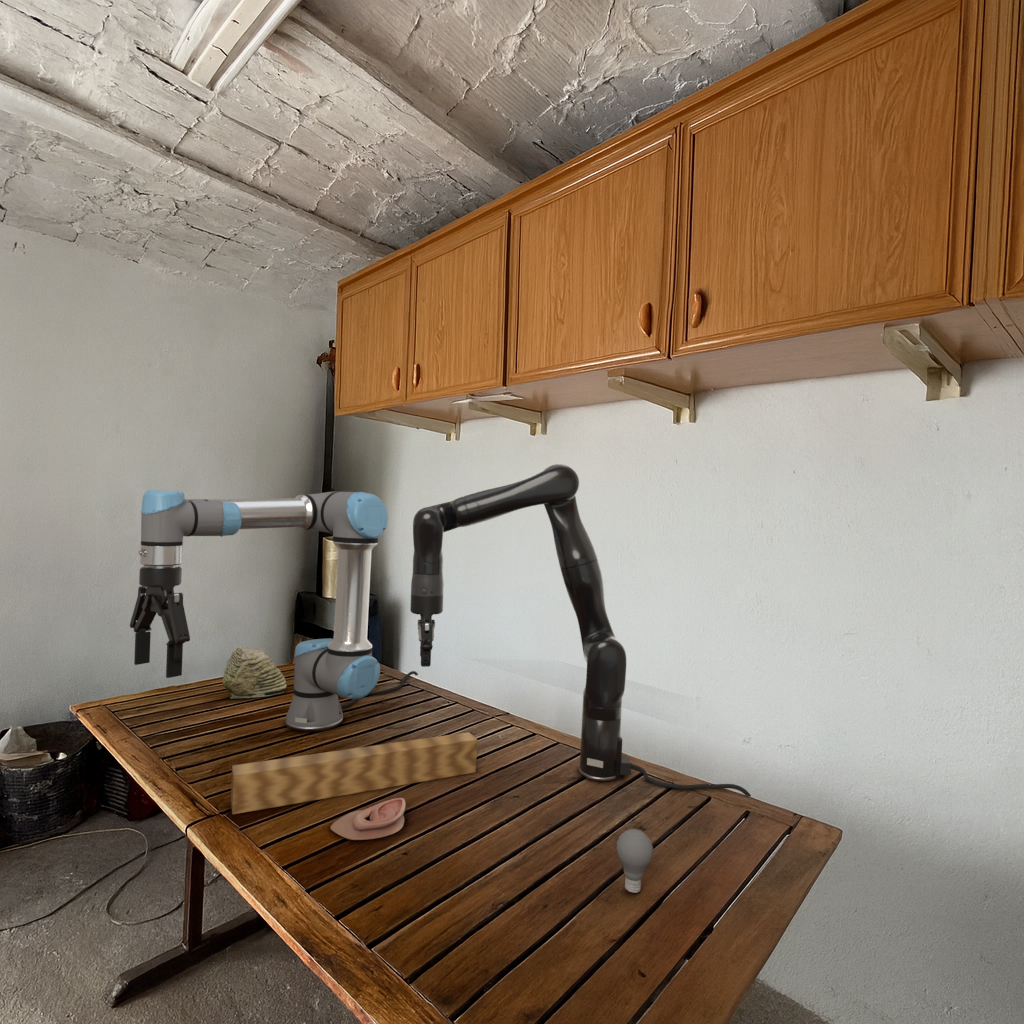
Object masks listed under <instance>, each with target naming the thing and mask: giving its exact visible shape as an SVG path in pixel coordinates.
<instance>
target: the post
mask: <svg viewBox="0 0 1024 1024" xmlns="http://www.w3.org/2000/svg"><path fill="white" fill-rule="evenodd" d="M477 751H478V738H476V737H475V736H474V735H473V734H471V732H469V731H468V732H461V733H460V732H459V733H453V734H446V735H440V736H433V737H432V736H431V737H423V738H419V739H410V740H404V741H396V742H390V743H383V744H375V745H368V746H361V747H354V748H353V747H352V748H346V749H339V750H332V751H327V752H326V751H325V752H320V753H311V754H304V755H296V756H291V757H283V758H276V759H268V760H262V761H255V762H247V763H241V764H233V765H231V780H230V781H231V784H230V785H231V786H230V809H231V815H236V814H238V815H239V814H242V813H243V814H244V813H248V812H249V813H250V812H255V811H261V810H268V809H271V808H278V807H284V806H290V805H296V804H300V803H306V802H312V801H318V800H324V799H330V798H335V797H340V796H348V795H354V794H358V793H364V792H370V791H371V792H372V791H377V790H382V789H387V788H392V787H400V786H405V785H411V784H416V783H417V784H418V783H422V782H427V781H433V780H440V779H445V778H451V777H457V776H463V775H468V774H474V773H476V772H477V757H478V756H477V755H478V752H477Z"/></svg>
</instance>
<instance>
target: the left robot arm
mask: <svg viewBox="0 0 1024 1024" xmlns="http://www.w3.org/2000/svg"><path fill="white" fill-rule="evenodd" d="M140 514H141V519H140V521H141V522H140V550H138V555H139V556H140V558H139V564H140V565H141V567H140V568H139V575H138V576H139V578H138V584H139V585H140V586H138V589H137V598H136V600H135V606H134V608H133V612H132V616H131V619H130V623H129V627H130V629H133V632H134V658H133V659H134V665H135V666H139V665H143V664H149V663H150V659H151V637H152V636H151V635H152V633H151V631H152V627H151V626H152V624H153V621H154V619H155V617H156V615H157V616H158V617H161V621H162V623H163V627H164V631H165V632H166V635H167V638H168V641H167V642H166V661H165V662H166V667H165V678H166V679H170V678H175V677H181V676H183V654H184V653H183V652H184V644H185V643H186V642H190V641H191V636H190V631H189V626H188V621H187V615H186V612H185V606H184V593H183V592H175V589H174V588H175V587H178V586H179V585H181V584H182V575H183V573H182V571H183V568H182V567H181V566H180V565H182V564H183V551H184V550H183V549H184V537H225V536H234V535H236V534H237V533H238V532H239V531H240V530H257V529H278V528H279V529H281V528H296V529H297V530H299V531H316V532H322V533H328V534H332V543H333V544H334V545H335V547H336V548H337V566H336V567H337V570H336V589H335V607H334V608H335V609H334V624H333V625H334V627H333V638H317V639H308V640H304V641H300V642H299V643H298V644H297V645H296V646H295V650H294V655H293V657H294V672H293V673H294V674H293V695H292V696H293V697H292V699H291V702H290V704H289V708H288V711H287V713H286V715H285V726H286V728H287V729H289V730H291V731H294V732H295V731H296V732H301V733H316V732H325V731H329V730H332V729H335V728H337V727H339V726H340V725H342V723H343V722H344V714H343V709H345V708H347V707H348V708H349V707H350V706H352V705H353V704H354V703H355V702H356V701H357V700H360V699H363V698H365V697H368V696H375V695H382V694H386V693H390V692H394V691H397V690H399V689H401V688H402V687H403V686H405V681H406V680H407V679H408V678H409V677H410V676H411V675H415V676H418V675H419V673H418V672H417V671H415V670H412V671H409V672H408V673H407V674H406V675H404V676H403V677H402V678H401V681H400V682H401V683H400V684H398V685H396V686H394V687H390V688H386V689H383V690H376V691H372V690H373V689H375V687H376V686H377V684H378V682H379V679H380V676H381V665H380V663H379V661H378V660H377V659H376V658H375V657H373V644H372V643H371V642H370V640H369V639H368V626H369V607H370V606H369V605H370V588H371V569H372V550H373V549H374V548H375V547H376V546H377V545H378V544H379V537H380V536H381V535H383V534H384V531H385V530H386V529H387V527H388V523H389V513H388V509H387V506H386V504H385V503H384V502H383V501H382V499H381V498H380V497H379V496H377V495H376V494H373V493H371V492H370V493H369V492H364V491H337V490H336V491H326V492H319V493H308V494H298V495H296V496H295V497H294V498H293V497H292V498H291V497H290V498H288V497H287V498H286V497H285V498H284V497H283V498H185V493H184V492H183V491H181V490H158V489H149V490H146V491H145V492H144V493H143V495H142V499H141V510H140ZM339 697H340V698H343V699H350V700H351V701H349V702H347V703H344V704H343V703H342V704H341V702H340V699H339Z"/></svg>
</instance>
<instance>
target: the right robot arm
mask: <svg viewBox="0 0 1024 1024" xmlns="http://www.w3.org/2000/svg"><path fill="white" fill-rule="evenodd" d="M579 488H580V479H579V476H578V474H577V471H576V470H574V469H573V468H572V467H570V465H569V466H568V465H567V464H563V463H555V464H552V465H549V466H547V467H545V468H544V469H543V470H542V471H541V472H539V473H536V474H535V475H532V476H530V477H528V478H525V479H523V480H519V481H517V482H513V483H510V484H506V485H502V486H498V487H493V488H488V489H483V490H481V491H477V492H474V493H470V494H467V495H464V496H460V497H458V498H455V499H453V500H451V501H447V502H443V503H438V504H434V505H430V506H425V507H422V508H420V509H419V510H418V511H417V512H416V513H415V515H414V516H413V521H412V541H413V556H412V574H411V583H410V608H409V609H410V612H411V613H412V614H414V615H419V616H420V619H417V631H418V632H417V633H418V641H419V643H420V646H419V656H420V667H422V668H424V667H427V668H429V667H431V663H432V662H431V661H432V649H433V646H434V645H433V642H434V639H435V630H436V621H435V620H436V619H433V615H440V614H442V613H443V611H444V583H445V581H444V552H443V540H444V533H447V532H449V531H453V530H455V529H458V528H465V527H469V526H472V525H476V524H480V523H483V522H486V521H490V520H493V519H495V518H498V517H502V516H504V515H507V514H510V513H513V512H516V511H519V510H522V509H526V508H530V507H535V506H539V505H543V506H544V508H545V511H546V514H547V516H548V519H549V522H550V525H551V529H552V534H553V535H552V536H553V540H554V541H553V542H554V546H555V547H554V548H555V551H556V557H557V560H558V566H559V569H560V572H561V576H562V580H563V583H564V586H565V590H566V592H567V595H568V598H569V600H570V604H571V606H572V609H573V611H574V614H575V616H576V619H577V623H578V628H579V633H580V639H581V640H580V641H581V647H582V655H583V657H584V658H583V659H584V660H585V663H586V673H585V674H586V675H585V676H586V677H585V685H584V686H585V687H584V689H583V692H582V709H581V710H582V711H581V713H582V714H581V732H580V733H581V734H580V750H579V751H580V752H579V753H580V754H579V767H578V773H579V774H580V776H582V777H583V778H585V779H587V780H590V781H594V782H611V781H615V780H621V779H622V776H631V775H632V769H633V770H637V771H639V772H640V773H641V774H642V775H643V778H644V779H645V780H646V781H648V782H649V783H650V784H652V785H655V786H658V787H661V788H666V789H676V790H701V789H714V790H719V789H720V790H721V789H732V790H737V791H739V792H741V793H742V794H744V796H746V797H752V794H751V793H750V792H749V791H748V790H747V789H745V788H744V787H742V786H741V785H738V784H734V783H698V784H697V783H695V784H679V783H666V782H661V781H658V780H655V779H654V778H652V777H650V776H649V775H648V773H647V771H646V770H645V769H644V768H643V767H641V766H640V765H637V764H633V763H632V761H631V760H630V758H629V757H628V755H626V754H623V738H622V736H621V729H622V728H621V727H622V710H623V709H622V706H623V705H622V704H623V696H624V695H625V689H626V678H627V677H626V675H627V652H626V650H625V648H624V646H623V644H622V643H621V642H620V641H619V640H618V638H617V637H616V635H615V633H614V630H613V628H612V625H611V623H610V619H609V616H608V613H607V608H606V601H605V587H604V579H603V574H602V569H601V566H600V563H599V559H598V555H597V552H596V550H595V547H594V545H593V542H592V540H591V538H590V535H589V533H588V531H587V530H586V528H585V526H584V524H583V521H582V519H581V515H580V512H579V507H578V503H577V497H576V495H577V493H578V491H579ZM709 784H711V785H709Z"/></svg>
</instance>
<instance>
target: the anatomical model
mask: <svg viewBox="0 0 1024 1024" xmlns="http://www.w3.org/2000/svg"><path fill="white" fill-rule="evenodd" d="M406 807H407V804H406V799H405V798H403V797H396V798H391V799H388V800H385V801H382V802H378V803H376V804H374V805H372V806H370V807H367V808H364V809H360V810H355V811H351V812H348V813H347V814H344V815H343V816H341V817H340V818H338V819H336V820H335V821H334V822H333V823H332V824H331V825H330V830H331V832H333V833H335V834H337V835H338V836H339V837H342V838H344V839H346V840H351V841H365V840H374V839H380V838H384V837H388V836H391V835H394V834H395V833H397V832H399V831H400V830H402V829H403V828H404V825H405V816H404V814H405V812H406V811H405V810H406Z"/></svg>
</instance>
